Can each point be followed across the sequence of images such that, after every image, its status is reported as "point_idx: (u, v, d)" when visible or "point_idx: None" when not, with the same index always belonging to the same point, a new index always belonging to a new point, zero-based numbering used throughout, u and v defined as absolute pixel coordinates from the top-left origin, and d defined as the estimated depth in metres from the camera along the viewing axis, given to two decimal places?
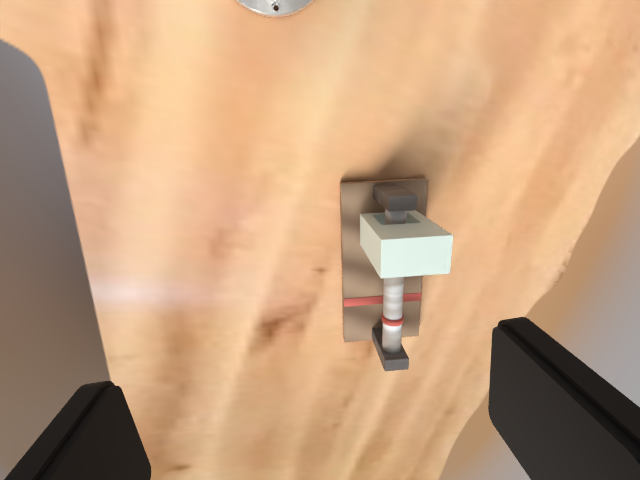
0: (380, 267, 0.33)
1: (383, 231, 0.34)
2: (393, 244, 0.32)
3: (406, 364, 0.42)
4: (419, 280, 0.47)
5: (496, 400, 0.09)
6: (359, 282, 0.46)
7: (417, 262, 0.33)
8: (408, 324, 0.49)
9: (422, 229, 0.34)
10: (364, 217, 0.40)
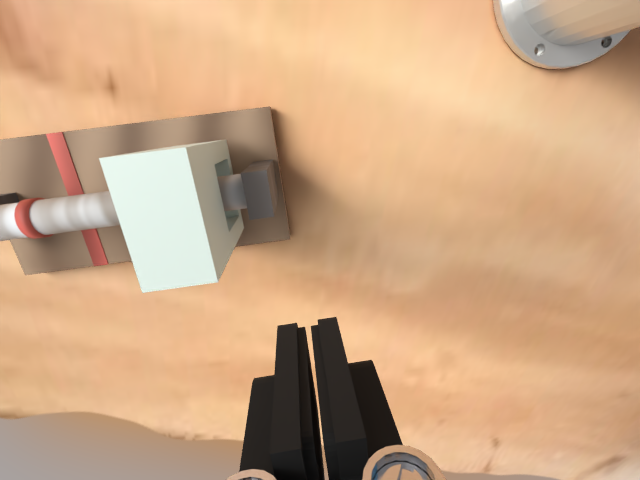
0: (124, 155, 0.16)
1: (203, 161, 0.18)
2: (180, 173, 0.16)
3: None
4: (129, 257, 0.29)
5: None
6: (102, 157, 0.27)
7: (152, 228, 0.17)
8: (42, 254, 0.29)
9: (218, 231, 0.20)
10: (221, 142, 0.24)
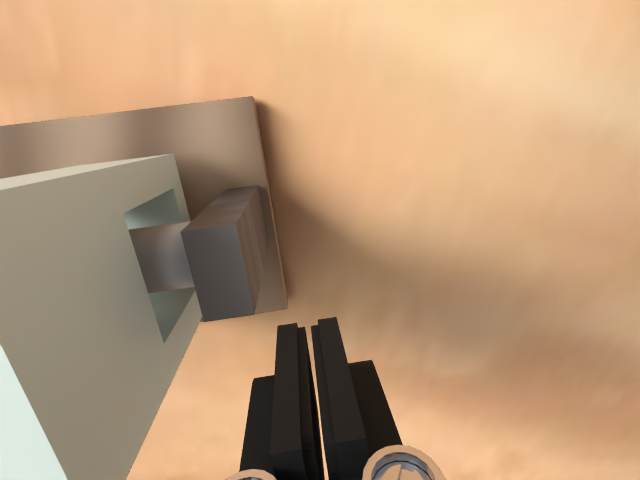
0: None
1: (68, 219, 0.07)
2: None
3: None
4: None
5: None
6: None
7: None
8: None
9: (119, 374, 0.08)
10: (158, 161, 0.13)
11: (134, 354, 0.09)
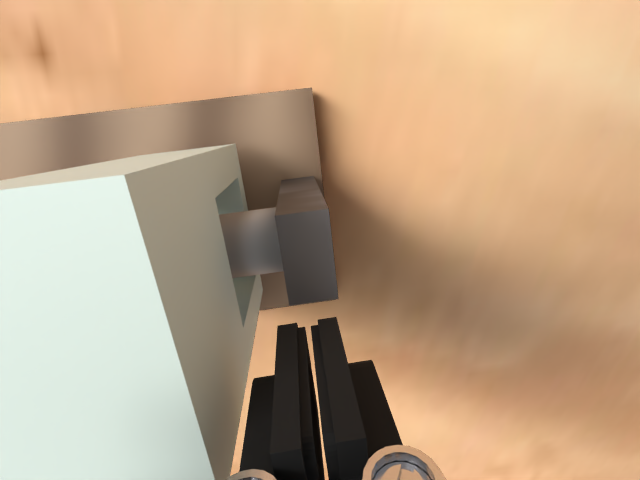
0: None
1: (189, 199, 0.08)
2: (112, 254, 0.05)
3: None
4: None
5: None
6: (26, 173, 0.16)
7: (38, 401, 0.06)
8: None
9: (223, 354, 0.09)
10: (228, 150, 0.13)
11: (229, 335, 0.09)
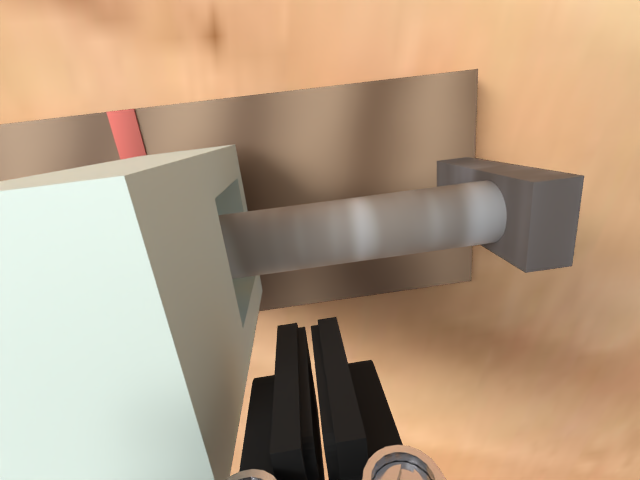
0: None
1: (188, 200, 0.08)
2: (112, 254, 0.05)
3: None
4: None
5: None
6: None
7: (38, 402, 0.06)
8: None
9: (223, 354, 0.09)
10: (228, 151, 0.13)
11: (229, 336, 0.09)
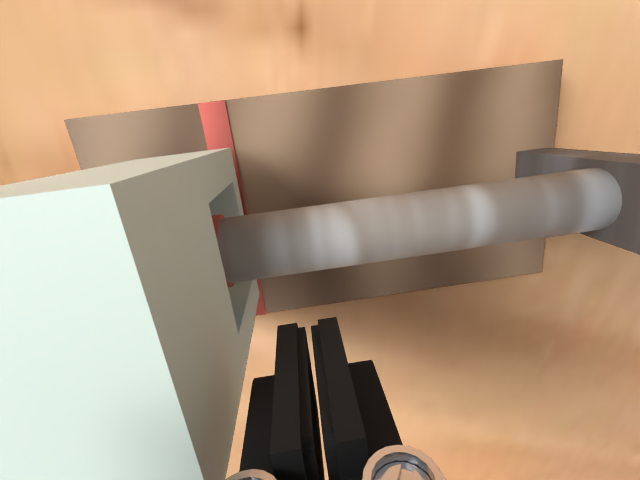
0: None
1: (180, 206, 0.07)
2: (98, 265, 0.05)
3: None
4: (299, 302, 0.19)
5: None
6: (283, 144, 0.16)
7: (25, 415, 0.06)
8: None
9: (217, 362, 0.08)
10: (223, 154, 0.13)
11: (224, 342, 0.09)
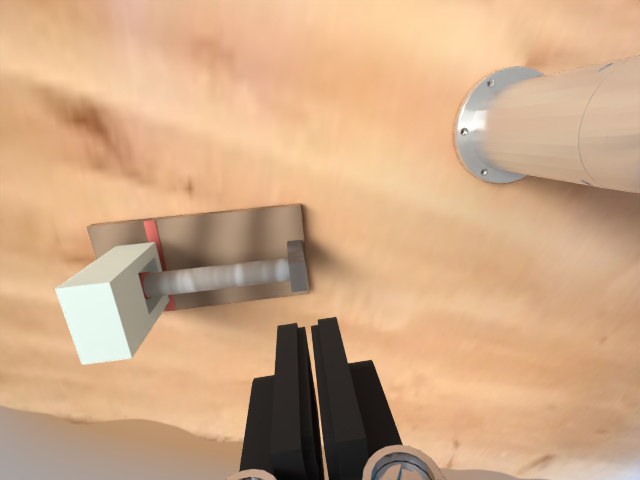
0: (71, 286, 0.26)
1: (126, 279, 0.29)
2: (106, 296, 0.27)
3: None
4: (192, 305, 0.40)
5: None
6: (181, 237, 0.38)
7: (88, 327, 0.27)
8: None
9: (136, 321, 0.30)
10: (149, 249, 0.34)
11: (140, 316, 0.31)
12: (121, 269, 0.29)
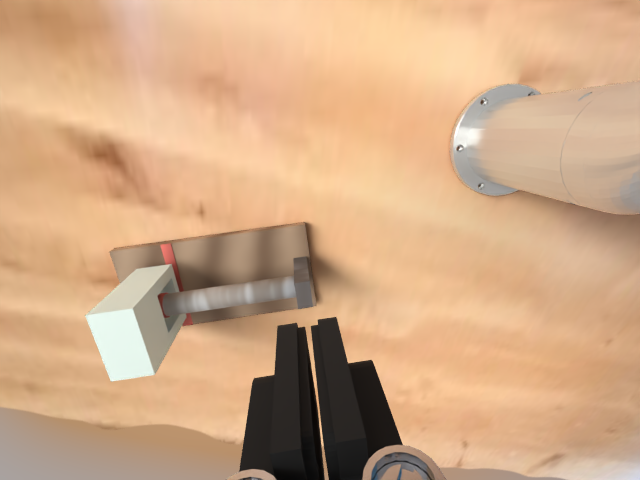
0: (99, 312, 0.29)
1: (147, 303, 0.32)
2: (130, 321, 0.30)
3: None
4: (207, 319, 0.43)
5: None
6: (195, 258, 0.41)
7: (115, 348, 0.30)
8: None
9: (157, 340, 0.33)
10: (166, 271, 0.37)
11: (160, 335, 0.34)
12: (142, 294, 0.32)
